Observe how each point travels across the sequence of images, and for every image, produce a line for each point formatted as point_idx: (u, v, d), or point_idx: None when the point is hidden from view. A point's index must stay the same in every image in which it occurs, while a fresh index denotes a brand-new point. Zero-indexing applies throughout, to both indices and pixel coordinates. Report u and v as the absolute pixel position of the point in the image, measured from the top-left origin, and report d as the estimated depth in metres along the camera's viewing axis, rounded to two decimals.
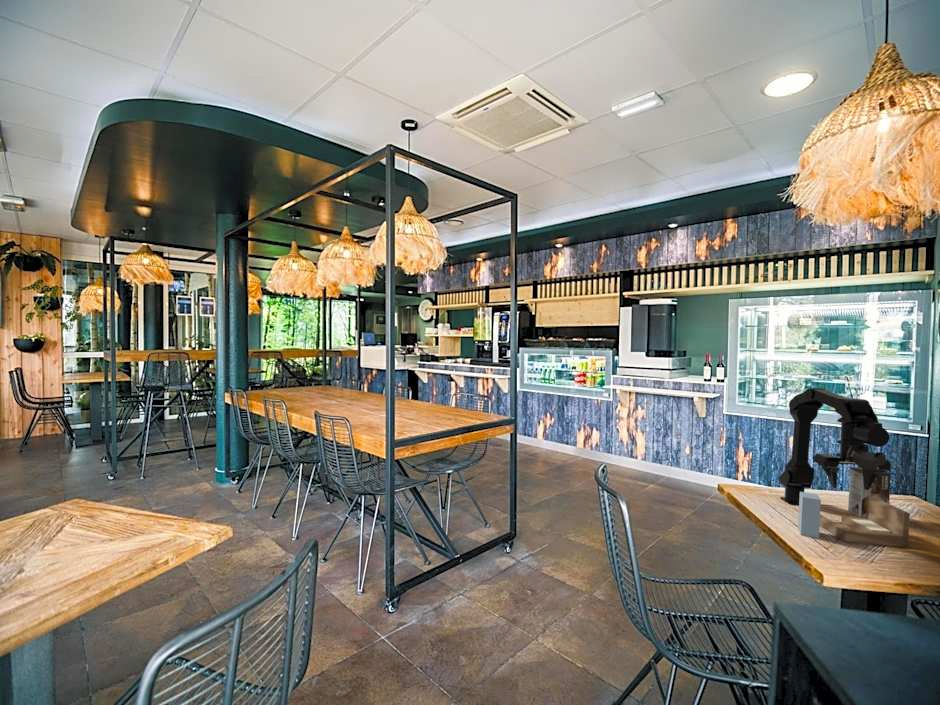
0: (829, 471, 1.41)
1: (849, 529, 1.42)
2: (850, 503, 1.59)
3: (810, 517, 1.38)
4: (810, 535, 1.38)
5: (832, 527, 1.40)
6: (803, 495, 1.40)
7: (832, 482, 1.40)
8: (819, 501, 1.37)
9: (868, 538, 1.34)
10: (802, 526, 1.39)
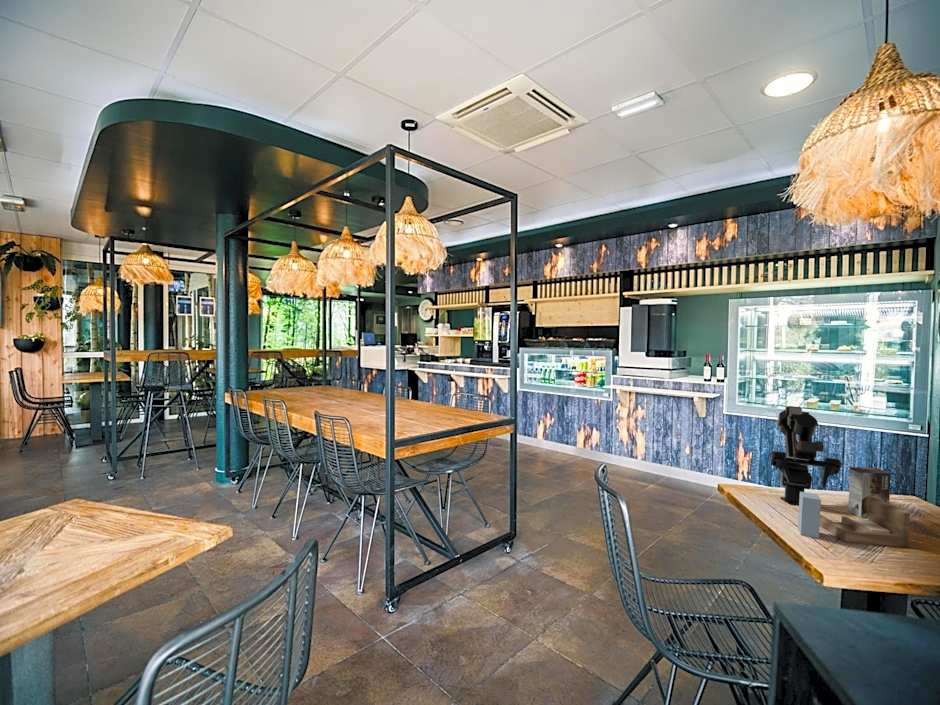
0: (784, 469, 1.53)
1: (849, 529, 1.42)
2: (850, 503, 1.59)
3: (810, 517, 1.38)
4: (810, 535, 1.38)
5: (832, 527, 1.40)
6: (803, 495, 1.40)
7: (786, 476, 1.50)
8: (819, 501, 1.37)
9: (868, 538, 1.34)
10: (802, 526, 1.39)
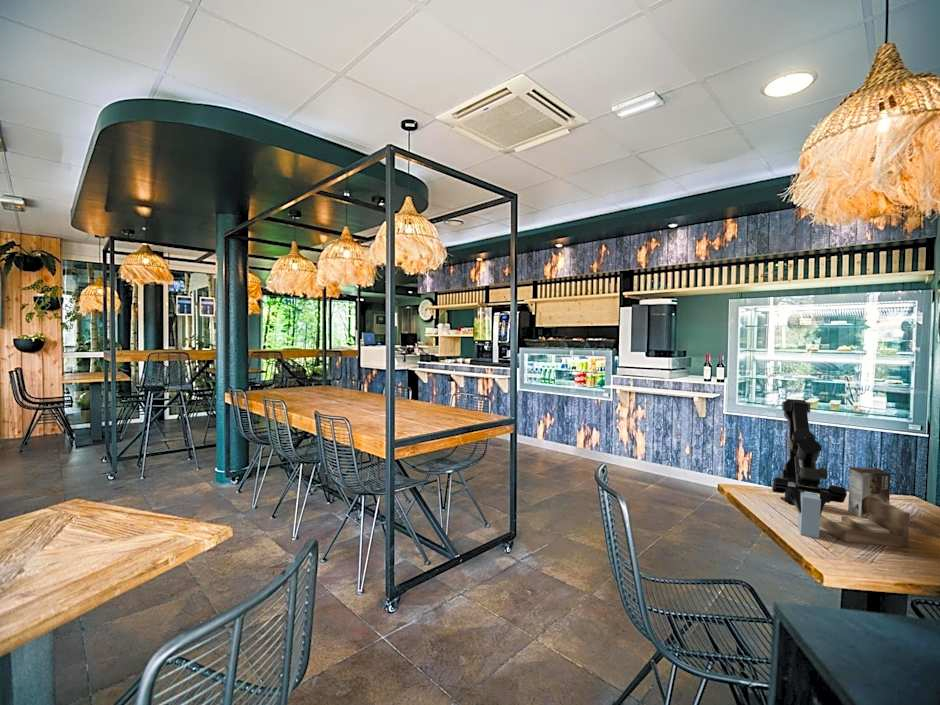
0: (794, 498, 1.44)
1: (849, 529, 1.42)
2: (850, 503, 1.59)
3: (810, 517, 1.38)
4: (810, 535, 1.38)
5: (832, 527, 1.40)
6: (803, 495, 1.40)
7: (797, 506, 1.42)
8: (819, 501, 1.37)
9: (868, 538, 1.34)
10: (802, 526, 1.39)
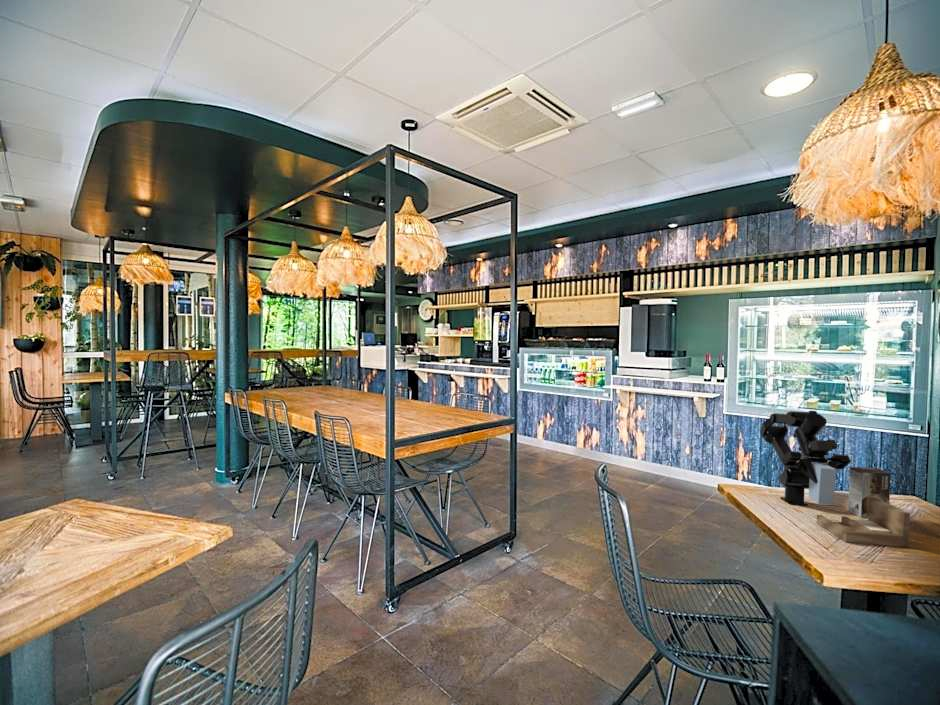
0: (806, 469, 1.53)
1: (849, 529, 1.42)
2: (850, 503, 1.59)
3: (826, 486, 1.47)
4: (826, 503, 1.48)
5: (832, 527, 1.40)
6: (818, 466, 1.49)
7: (812, 477, 1.51)
8: (835, 470, 1.47)
9: (868, 538, 1.34)
10: (820, 495, 1.48)
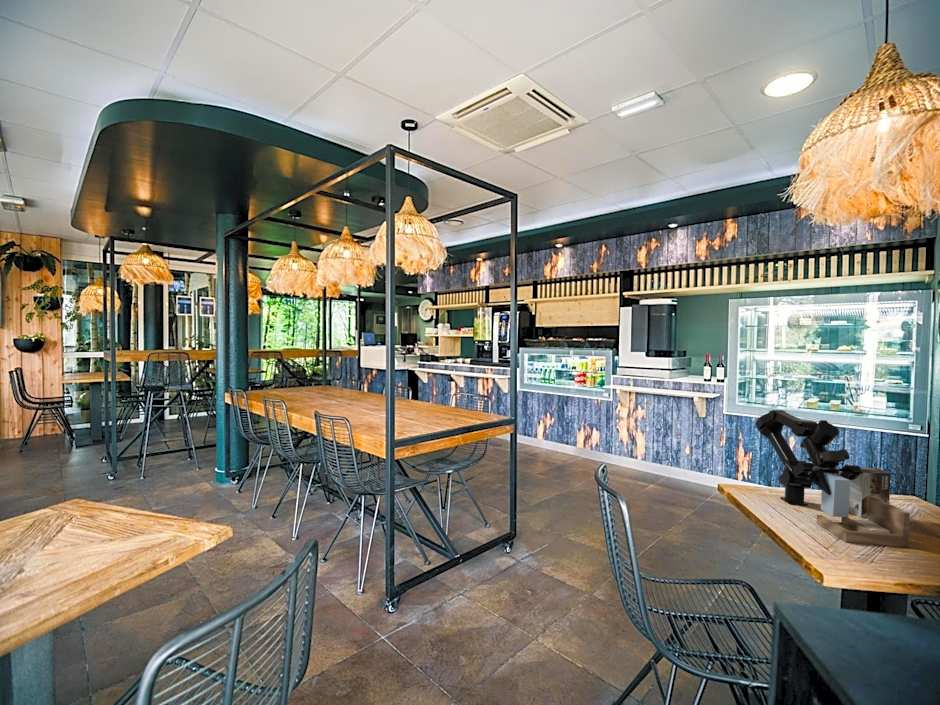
0: (818, 480, 1.49)
1: (849, 529, 1.42)
2: (850, 503, 1.59)
3: (841, 498, 1.43)
4: (841, 515, 1.43)
5: (832, 527, 1.40)
6: (832, 477, 1.45)
7: (825, 488, 1.46)
8: (849, 482, 1.43)
9: (868, 538, 1.34)
10: (834, 507, 1.44)
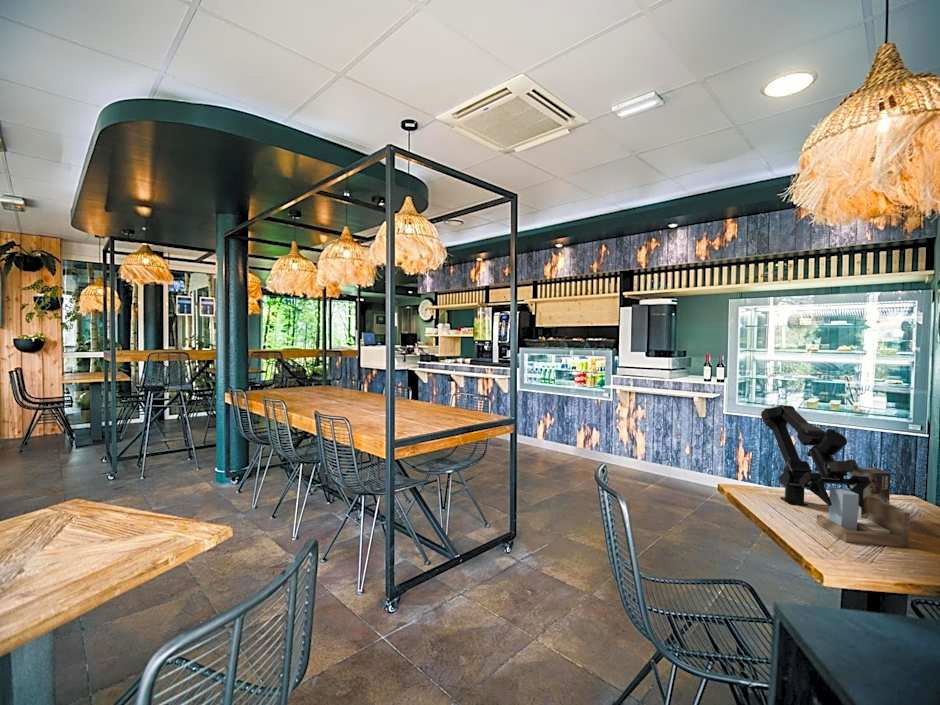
0: (818, 491, 1.45)
1: None
2: None
3: (849, 512, 1.39)
4: (849, 530, 1.40)
5: (832, 527, 1.40)
6: (840, 491, 1.41)
7: (826, 499, 1.43)
8: (857, 496, 1.39)
9: (868, 538, 1.34)
10: (842, 522, 1.40)
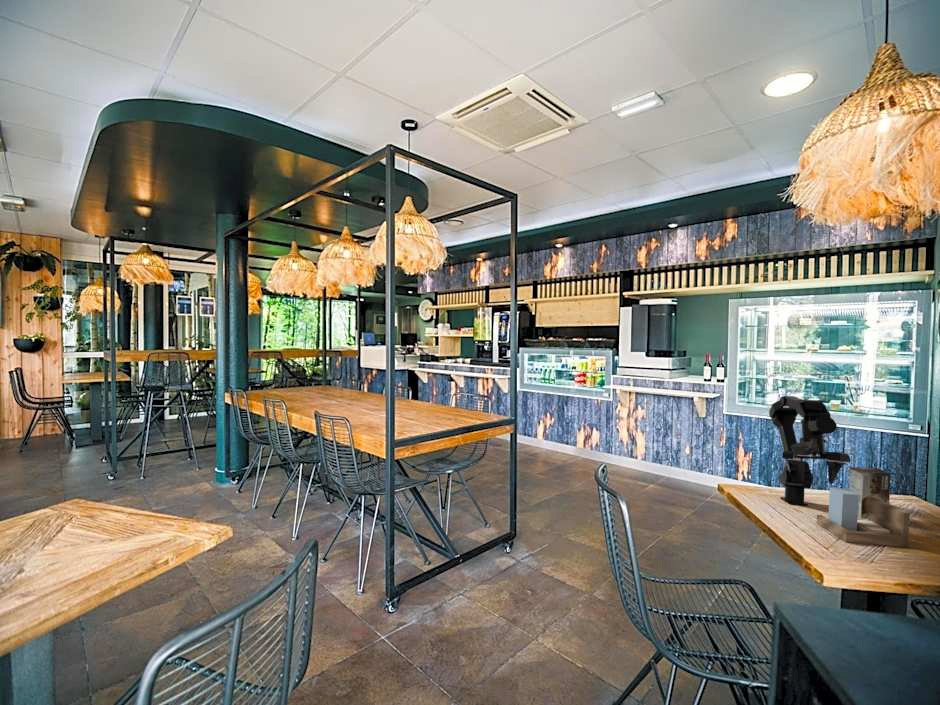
0: None
1: None
2: None
3: (849, 512, 1.39)
4: (849, 530, 1.40)
5: (832, 527, 1.40)
6: (840, 491, 1.41)
7: None
8: (857, 496, 1.39)
9: (868, 538, 1.34)
10: (842, 522, 1.40)
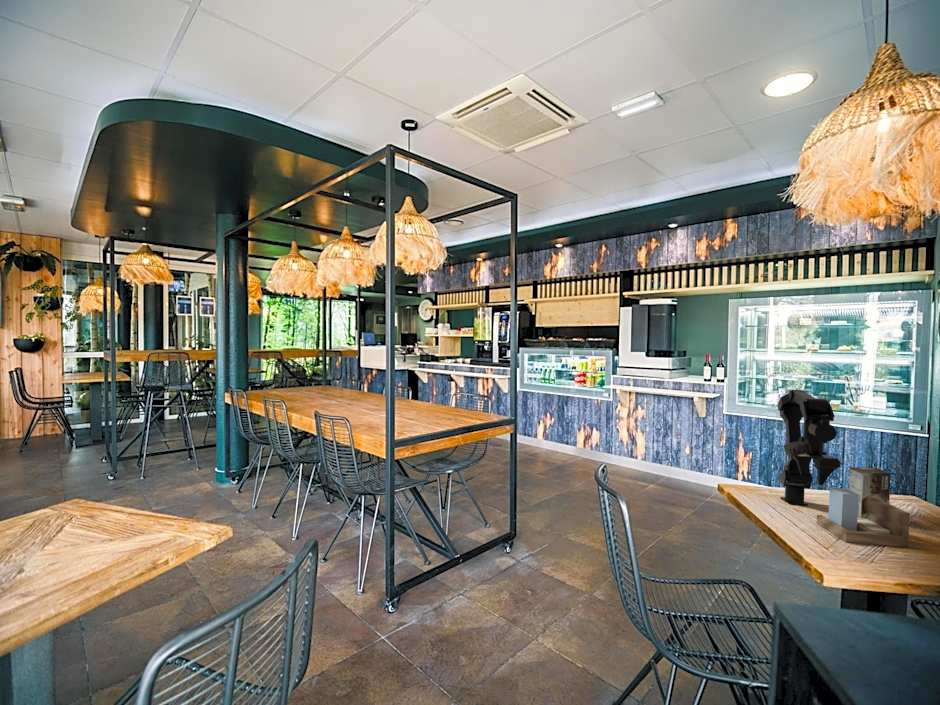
0: None
1: None
2: None
3: (849, 512, 1.39)
4: (849, 530, 1.40)
5: (832, 527, 1.40)
6: (840, 491, 1.41)
7: None
8: (857, 496, 1.39)
9: (868, 538, 1.34)
10: (842, 522, 1.40)
